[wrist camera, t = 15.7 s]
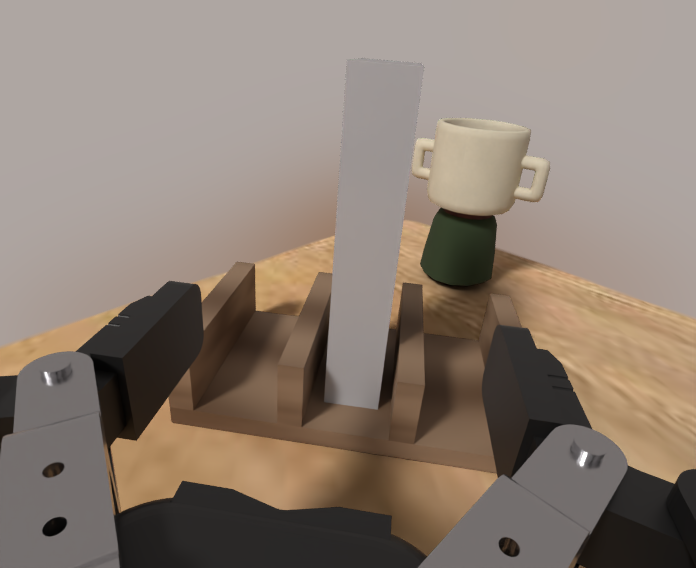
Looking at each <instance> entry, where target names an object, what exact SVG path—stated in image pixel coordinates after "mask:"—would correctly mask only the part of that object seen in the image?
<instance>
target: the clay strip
mask: <svg viewBox="0 0 696 568" xmlns="http://www.w3.org/2000/svg"><path fill="white" fill-rule="evenodd" d="M423 71H424V66H423V65H422V64H421V63H411V62H399V61H388V60H376V59H365V58H361V59H350V60H347V66H346V82H345V96H344V110H343V125H342V140H341V155H340V170H339V185H338V200H337V215H336V230H335V244H334V259H333V274H332V289H331V304H330V319H329V334H328V349H327V364H326V379H325V393H324V402H326V403H334V404H341V405H348V406H355V407H362V408H369V409H376V410H378V405H379V397H380V390H381V382H382V375H383V368H384V360H385V353H386V345H387V338H388V331H389V323H390V316H391V308H392V301H393V294H394V286H395V279H396V271H397V264H398V257H399V249H400V242H401V234H402V227H403V220H404V212H405V205H406V197H407V190H408V182H409V175H410V167H411V160H412V153H413V146H414V138H415V131H416V124H417V116H418V109H419V101H420V94H421V87H422V79H423Z"/></svg>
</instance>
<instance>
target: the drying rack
mask: <svg viewBox="0 0 696 568" xmlns="http://www.w3.org/2000/svg"><path fill="white" fill-rule="evenodd" d="M331 289H332V274H331V273H323V272H319V273H318V275H317V277H316V279H315V282H314V284H313V286H312V288H311V291H310V293H309V295H308V297H307V300H306V302H305V304H304V306H303V309H302V311H301V313H300V315H299V316H291V315H284V314H276V313H269V312H261V311H256V302H255V264H251V263H243V262H236V263H235V265H234V266H233V267H232V268H231V269H230V270H229V271H228V273H227V274H226V275H225V276H224V277H223V278H222V280H221V281H220V282H219V283H218V284H217V285H216V287H215V288H214V289H213V290H212V291H211V292H210V294H209V295H208V296H207V297H206V298H205V299H204V301H203V302H202V315H203V329H204V339H203V344H202V348H201V351H200V353H199V355H198V356H197V358H196V359H195V361H194V362H193V363H192V365H191V366H190V367H189V369H188V370H187V372H186V373H185V374H184V376H183V377H182V379H181V380H180V381H179V383H178V384H177V385H176V387H175V388H174V390H173V391H172V392H171V394H170V395H169V404H170V412H171V420H172V422H173V423H179V424H185V425H192V426H198V427H205V428H211V429H217V430H224V431H230V432H237V433H243V434H249V435H256V436H262V437H269V438H275V439H281V440H288V441H294V442H301V443H307V444H313V445H320V446H326V447H333V448H339V449H346V450H352V451H358V452H365V453H371V454H378V455H384V456H390V457H397V458H403V459H410V460H416V461H422V462H429V463H435V464H442V465H448V466H454V467H461V468H467V469H474V470H480V471H486V472H493V473H497V471H496V465H495V460H494V455H493V450H492V445H491V440H490V434H489V429H488V424H487V419H486V414H485V408H484V403H483V398H482V379H483V373H484V369H485V365H486V362H487V358H488V354H489V350H490V346H491V342H492V338H493V334H494V331H495V328H496V326H497V325H506V326H513V327H521V328H522V326H521V324H520V321H519V319H518V316H517V313H516V311H515V308H514V306H513V303H512V300H511V298H510V296H507V295H499V294H491V293H490V296H489V300H488V304H487V308H486V312H485V316H484V321H483V325H482V329H481V333H480V337H479V340H471V339H464V338H456V337H449V336H441V335H434V334H426V333H423V296H422V285H419V284H411V283H403V287H402V294H401V301H400V308H399V315H398V322H397V328H396V329H389V331H388V338H387V345H386V353H385V360H384V368H383V375H382V382H381V390H380V397H379V405H378V410H376V409H369V408H362V407H355V406H348V405H341V404H334V403H326V402H324V393H325V379H326V364H327V349H328V334H329V319H330V304H331Z"/></svg>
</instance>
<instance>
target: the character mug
mask: <svg viewBox="0 0 696 568" xmlns="http://www.w3.org/2000/svg"><path fill="white" fill-rule="evenodd" d="M530 135H531V130H530V129H528V128H526V127H523V126H519V125H515V124H511V123H505V122H500V121H493V120H483V119H471V118H444V119H440V120H438V123H437V128H436V134H435V140H432V139H426V138H420V139H417V142H416V144H415V149H414V156H413V163H412V174H413V175H414V176H415V177H417V178H421V179H426V180H428V187H427V192H428V197H429V199H430V201H431V202H432V203H434V204H436V205H438V206H440V207H441V208H440V209H439V211H438V212H437V214H436V215H435V217H434V219H433V222H432V225H431V229H430V232H429V235H428V238H427V241H426V244H425V248H424V251H423V255H422V259H421V263H420V265H421V267H422V269H423V271H424V272H425V273H426V274H427V275H429V276H430V277H432V278H433V279H434V280H437V281H440V282H443V283H446V284H449V285H466V286H469V285H474V284H479V283H483V282H485V281H487V280H489V279H491V276H492V269H493V262H494V254H495V241H496V228H497V223H496V219H495V216H493V215H498V214H503V213H505V212H507V211H509V209H510V208H511V207H512V206H513V204H514V203H515V199H520V200H524V201H530V202H538V201H540V199H541V198H542V196H543V193H544V189H545V186H546V182H547V178H548V174H549V171H550V162H549V161H547V160H545V159H544V158H537V157H532V156H526V153H527V149H528V145H529V141H530ZM425 151H430V152H433V154H432V160H431V167H430V169H429V168H424V167H423V162H424V155H425ZM523 168H524V169H529V170H534V171H535V174H534V178H533V182H532V186H531V188H530V189H529V188H523V187H519V182H520V178H521V174H522V170H523Z"/></svg>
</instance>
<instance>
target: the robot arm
mask: <svg viewBox="0 0 696 568" xmlns="http://www.w3.org/2000/svg"><path fill="white" fill-rule="evenodd" d="M203 339H204V329H203V315H202V302H201V291H200V288H199V286H198V285H196V284H190V283H181V282H175V281H169V282H167V283H166V284H165V285H164V286H163V287H162V288H160V289H159V290H158V291H157V292H156V293H155V294H154V295H153V296H146V297H144V298H142V299H140V300H138V301H136V302H133V303H131V304H130V305H128V306H127V307H126V308H125V309H124V310H123V311H122V312H120V313H119V314H118V317H117V316H116V317H115V318H114V319H112V320H111V321H110V322H109V324H108V325H106V326H104V327H103V328H102V329H101V330H100V331H99V332H98V333H96V334H95V335H94V336H93V337H92V338H91V339H90V340H88V341H87V342H86V343H85V344H84V345H83V346H82V347H80V348H79V349H78V350H77V351H76V352H59V353H54V354H49V355H46V356H43V357H41V358H38V359H36V360H34V361H33V362H31V363H29V364H28V365H26V366H25V367H24V368H23V369H22V370H21V371H20V373H19V375H15V376H0V568H580V566H583V567H586V568H696V469H691V470H686V471H684V472H682V473H681V474H680V475H679V477H678V479H677V481H676V483H675V484H673V483H671V482H668V481H665V480H663V479H660V478H657V477H655V476H652V475H649V474H647V473H644V472H641V471H639V470H637V469H634V468H632V467H630V466H628V464H627V460H626V457H625V455H624V454H623V452H622V451H621V449H620V448H619V447H618V446H617V445H616V444H615V443H614V442H613V441H611V440H610V439H609V438H607V437H606V436H604V435H603V434H601V433H599V432H597V431H595V430H593V429H592V427H591V425H590V423H589V421H588V419H587V417H586V415H585V412H584V410H583V408H582V406H581V404H580V402H579V400H578V398H577V395H576V393H575V392H573V387H572V385H571V383H570V381H569V380H568V376H567V374H566V372H565V370H564V368H563V366H562V364H561V362H559V361H558V360H557V359H556V358H555V357H554V356H553V355H552V354H551V353H550V352H549V351H548V350H543V349H537V348H536V346H535V343H534V341H533V339H532V336H531V334H530V331H529V329H527V328H521V327H513V326H506V325H497V326H496V328H495V331H494V334H493V338H492V342H491V346H490V350H489V354H488V358H487V362H486V365H485V369H484V373H483V379H482V398H483V403H484V408H485V414H486V419H487V424H488V429H489V434H490V440H491V445H492V450H493V455H494V460H495V465H496V471H497V476H498V479H497V480H496V481H495V482H494V483H493V484H492V485H491V486H490V488H489V489H488V490H487V491H486V492H485V493H484V494H483V495H482V497H481V498H480V499H479V500H478V501H477V502H476V503H475V504H474V505H473V507H472V508H471V509H470V510H469V511H468V512H467V513H466V514H465V515H464V517H463V518H462V519H461V520H460V521H459V522H458V523H457V524H456V525H455V527H454V528H453V529H452V530H451V531H450V532H449V533H448V534H447V535H446V537H445V538H444V539H443V540H442V541H441V542H440V543H439V544H438V546H437V547H436V548H435V549H434V550H433V551H432V552H431V553H430V554H429V556H428V557H427V556H426V555H425V554H424V553H422V552H421V551H420V550H418V549H417V548H416V547H414V546H413V545H411V544H410V543H408V542H406V541H405V540H403V539H401V538H399V537H397V536H395V535H392V534H391V519H392V516H390V515H384V514H378V513H372V512H366V511H360V510H354V509H348V508H342V507H331V508H315V509H300V510H279V509H276V508H274V507H272V506H270V505H267V504H265V503H263V502H260V501H258V500H256V499H254V498H251V497H249V496H247V495H244V494H242V493H240V492H238V491H235V490H233V489H228V488H222V487H216V486H210V485H204V484H198V483H192V482H186V481H182V482H181V484H180V486H179V488H178V490H177V492H176V493H175V495H174V497H173V498H166V499H160V500H155V501H151V502H147V503H143V504H140V505H137V506H135V507H132V508H129V509H127V510H125V511H123V512H121V507H120V500H119V494H118V488H117V482H116V475H115V469H114V463H113V457H112V451H111V447H110V446H111V444H112V443H113V442H114V441H115V439H116V438H123V439H129V440H136V441H137V439H138V438H139V437H140V435H141V434H142V432H143V431H144V430H145V428H146V427H147V426H148V424H149V423H150V421H151V420H152V419H153V417H154V416H155V414H156V413H157V412H158V410H159V409H160V408H161V406H162V405H163V403H164V402H165V401H166V399H167V398H168V396H169V395H170V394H171V392H172V391H173V390H174V388H175V387H176V385H177V384H178V383H179V381H180V380H181V379H182V377H183V376H184V374H185V373H186V372H187V370H188V369H189V367H190V366H191V365H192V363H193V362H194V361H195V359H196V358H197V356H198V355H199V353H200V351H201V348H202V344H203Z"/></svg>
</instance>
